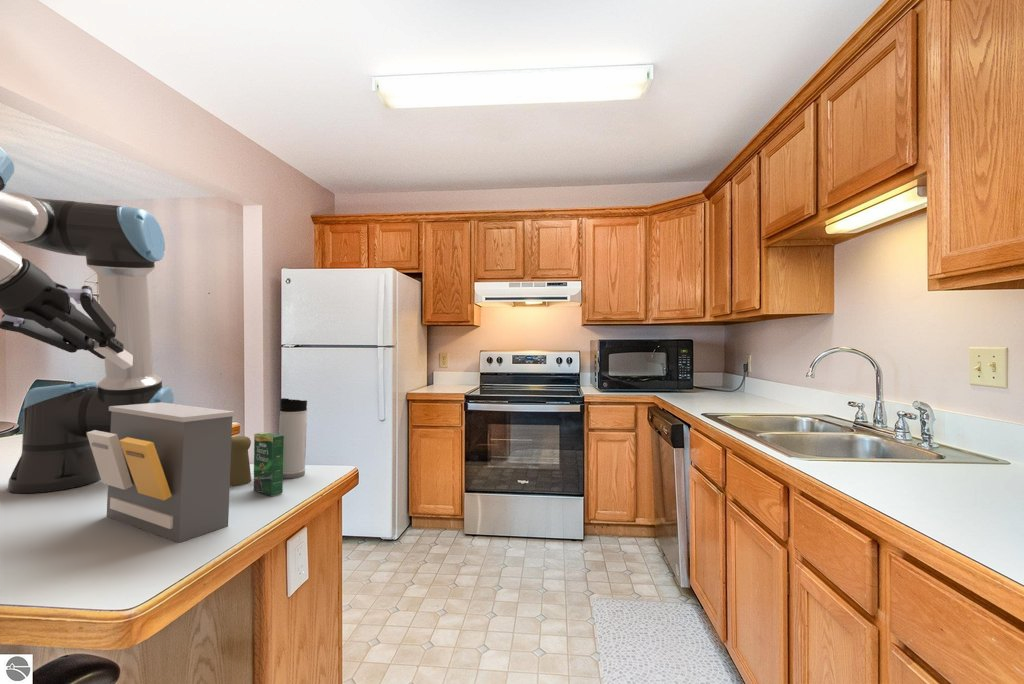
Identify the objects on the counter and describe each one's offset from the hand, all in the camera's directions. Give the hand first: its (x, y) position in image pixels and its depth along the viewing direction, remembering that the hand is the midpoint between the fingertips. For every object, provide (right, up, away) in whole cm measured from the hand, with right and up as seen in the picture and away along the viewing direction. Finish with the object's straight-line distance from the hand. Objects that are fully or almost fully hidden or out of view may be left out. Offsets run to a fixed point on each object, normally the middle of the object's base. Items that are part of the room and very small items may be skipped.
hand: (128, 362), depth 82 cm
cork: (+5, -30, +24) cm, 39 cm away
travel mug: (+15, -31, +30) cm, 46 cm away
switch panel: (+8, -30, -1) cm, 31 cm away
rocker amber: (+11, -22, -8) cm, 26 cm away
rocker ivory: (0, -22, -3) cm, 22 cm away
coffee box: (+16, -30, +17) cm, 39 cm away
